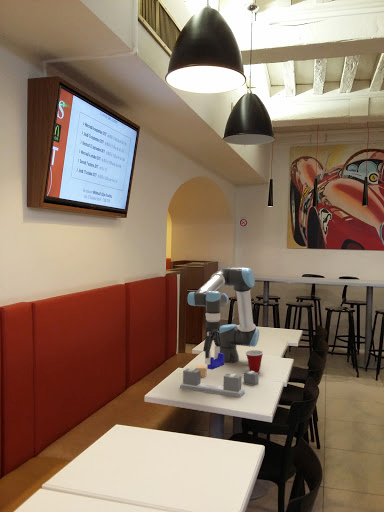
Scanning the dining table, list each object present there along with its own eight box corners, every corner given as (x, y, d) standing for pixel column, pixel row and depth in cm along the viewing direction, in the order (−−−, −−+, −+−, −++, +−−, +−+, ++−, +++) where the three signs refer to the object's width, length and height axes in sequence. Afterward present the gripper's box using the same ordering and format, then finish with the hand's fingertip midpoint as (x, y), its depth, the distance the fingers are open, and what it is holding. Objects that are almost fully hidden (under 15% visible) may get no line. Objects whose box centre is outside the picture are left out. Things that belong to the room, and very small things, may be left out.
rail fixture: (185, 384, 250) (185, 367, 249) (244, 393, 236) (244, 374, 235) (179, 388, 244) (180, 370, 243) (240, 397, 230) (240, 378, 229)
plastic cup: (241, 370, 279) (242, 350, 278) (256, 368, 283) (257, 349, 283) (251, 375, 269) (251, 354, 268) (266, 372, 273) (266, 352, 273)
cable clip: (217, 363, 246) (217, 352, 246) (224, 364, 243) (224, 353, 243) (204, 368, 236) (205, 356, 236) (212, 369, 234) (212, 358, 234)
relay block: (247, 381, 257) (247, 370, 257) (258, 383, 253) (258, 372, 253) (243, 383, 253) (243, 371, 253) (254, 385, 249) (255, 374, 249)
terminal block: (196, 374, 270) (196, 365, 270) (206, 374, 269) (206, 366, 269) (195, 376, 266) (195, 367, 265) (205, 377, 265) (205, 368, 264)
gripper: (214, 317, 253) (214, 355, 253) (197, 323, 230) (196, 365, 231) (227, 318, 250) (227, 356, 250) (210, 324, 227) (210, 367, 228)
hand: (212, 361), depth 240 cm, fingers closed on cable clip, 12 cm apart
